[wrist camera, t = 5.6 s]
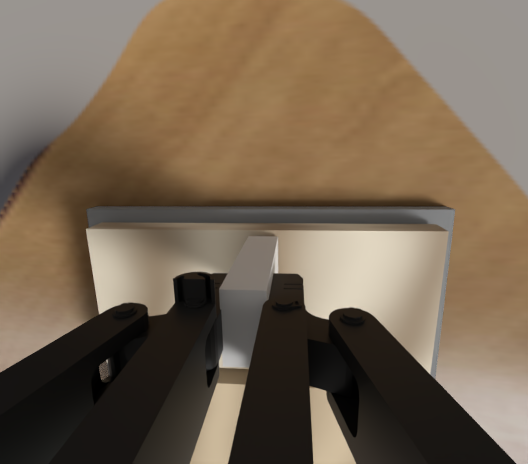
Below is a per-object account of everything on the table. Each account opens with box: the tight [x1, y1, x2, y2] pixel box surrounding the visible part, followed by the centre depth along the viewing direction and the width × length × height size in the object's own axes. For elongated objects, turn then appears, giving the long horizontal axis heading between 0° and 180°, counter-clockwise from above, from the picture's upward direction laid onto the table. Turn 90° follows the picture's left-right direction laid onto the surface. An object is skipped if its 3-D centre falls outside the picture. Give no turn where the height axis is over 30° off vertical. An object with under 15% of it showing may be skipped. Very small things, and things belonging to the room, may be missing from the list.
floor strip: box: [190, 368, 356, 464], centre depth 21 cm, size 18×8×2 cm, turn 91°
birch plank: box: [86, 222, 449, 374], centre depth 18 cm, size 18×8×2 cm, turn 91°
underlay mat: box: [86, 206, 455, 379], centre depth 21 cm, size 20×18×1 cm
